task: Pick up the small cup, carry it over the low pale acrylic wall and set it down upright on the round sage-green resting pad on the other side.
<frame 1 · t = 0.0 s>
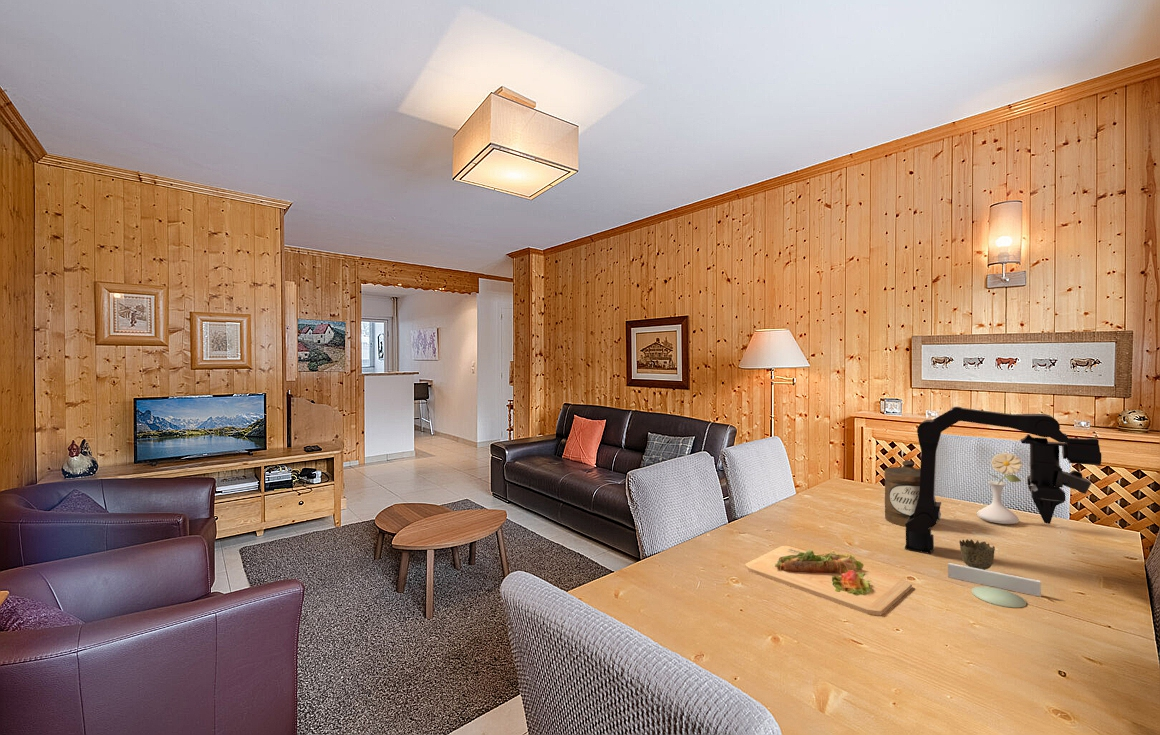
hand: (1045, 518, 130), 15 cm above the table, tool pointing down, fingers open, 9 cm apart
resting pad: (998, 597, 117), on the table
wooden container: (909, 522, 173), on the table
acrylic wall: (992, 585, 123), on the table
cup: (977, 573, 131), on the table
flower in vase: (1000, 522, 170), on the table
cutting board: (823, 580, 130), on the table
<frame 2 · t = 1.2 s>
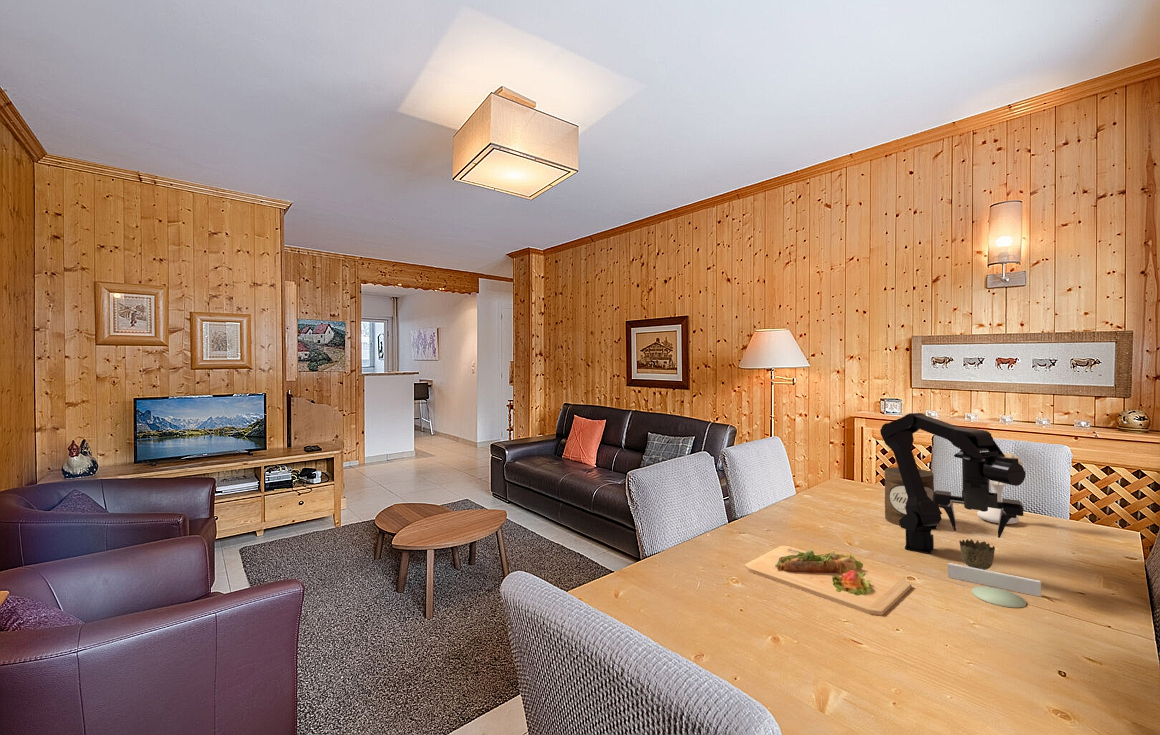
hand: (976, 533, 131), 11 cm above the table, tool pointing down, fingers open, 9 cm apart
nothing on the table moved.
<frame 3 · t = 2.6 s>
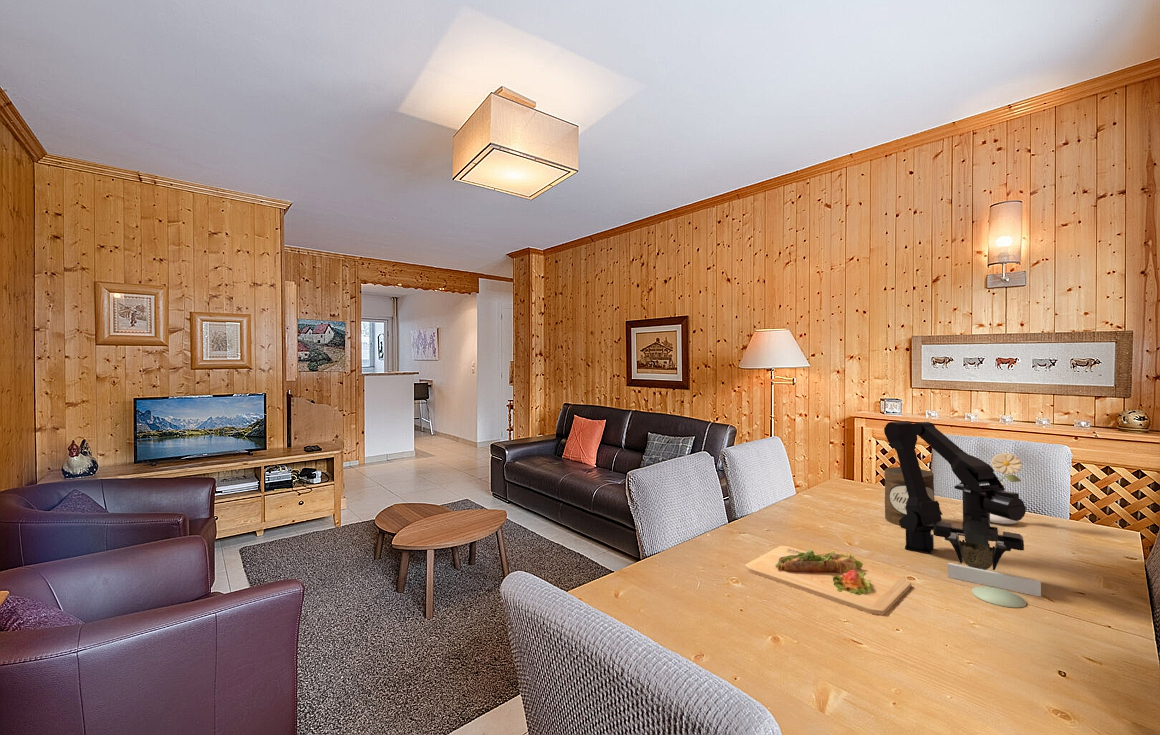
hand: (977, 566, 131), 2 cm above the table, tool pointing down, fingers closed on cup, 6 cm apart
cup: (977, 573, 131), on the table, touching gripper
everything else where it was.
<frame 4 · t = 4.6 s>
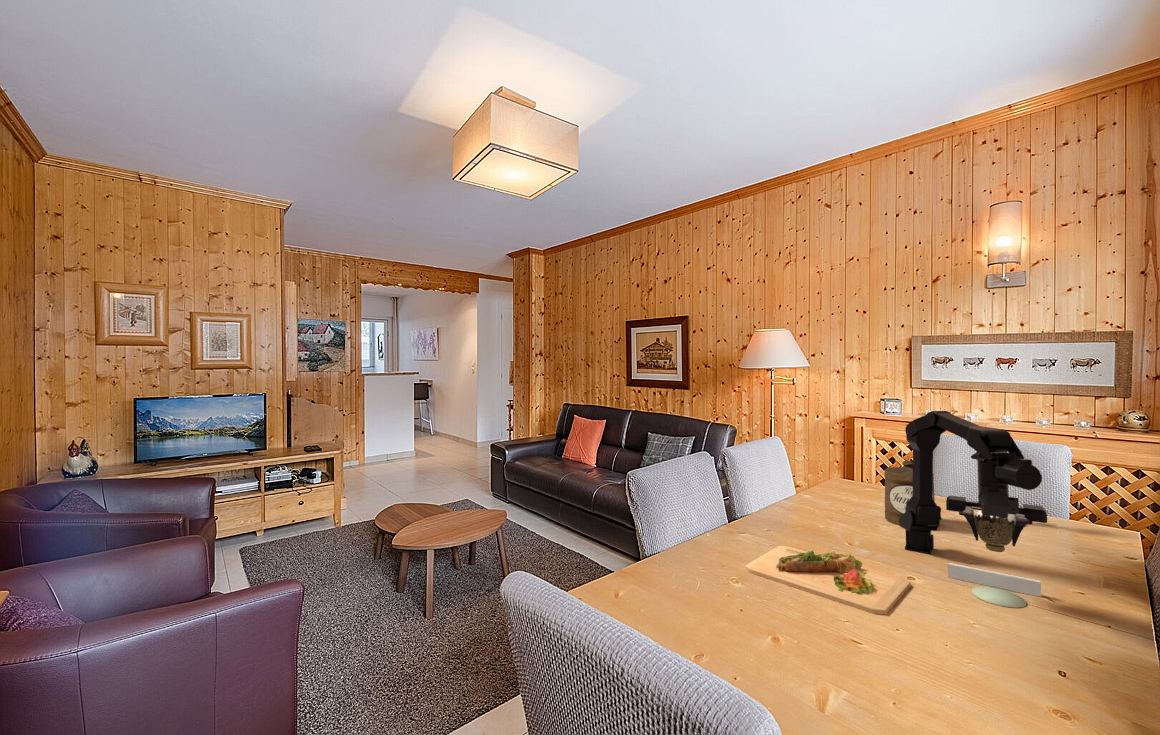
hand: (994, 543, 119), 13 cm above the table, tool pointing down, fingers closed on cup, 6 cm apart
cup: (995, 551, 119), point 11 cm above the table, touching gripper
everything else where it was.
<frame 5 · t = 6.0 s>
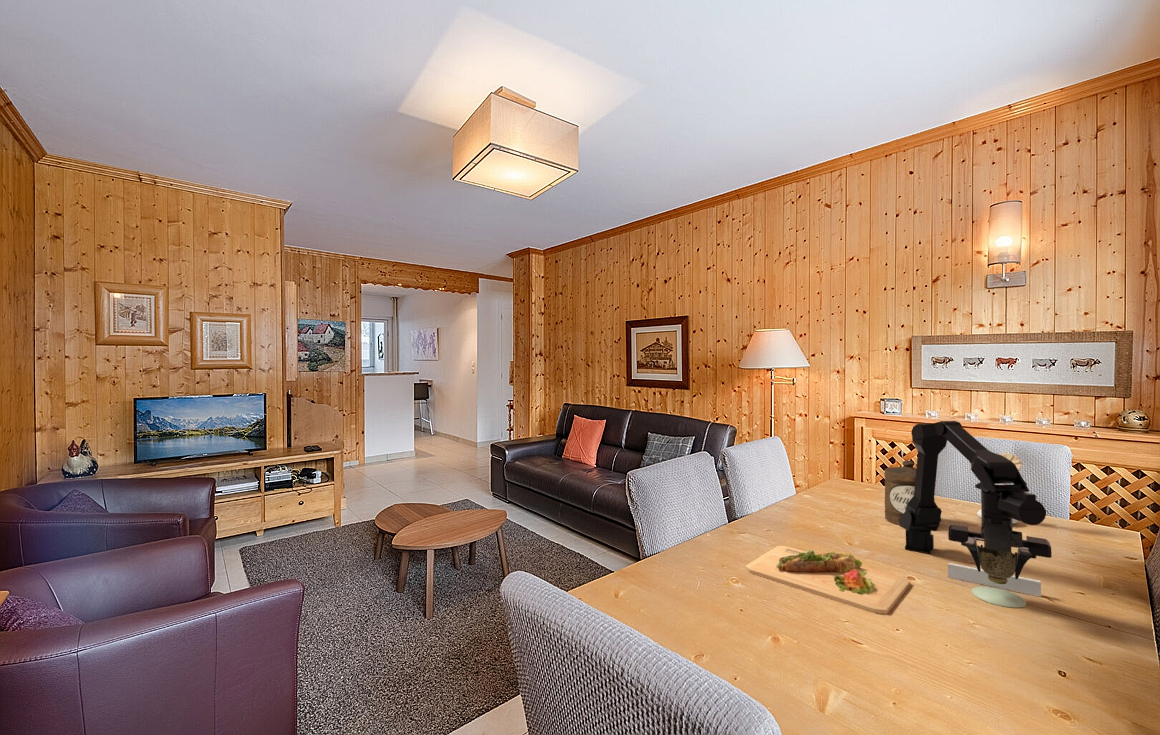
hand: (997, 574, 117), 5 cm above the table, tool pointing down, fingers closed on cup, 6 cm apart
cup: (997, 582, 117), point 3 cm above the table, touching gripper
everything else where it was.
when the fingers open (3 cm above the table, at t = 7.0 s): cup stays where it is, resting on resting pad.
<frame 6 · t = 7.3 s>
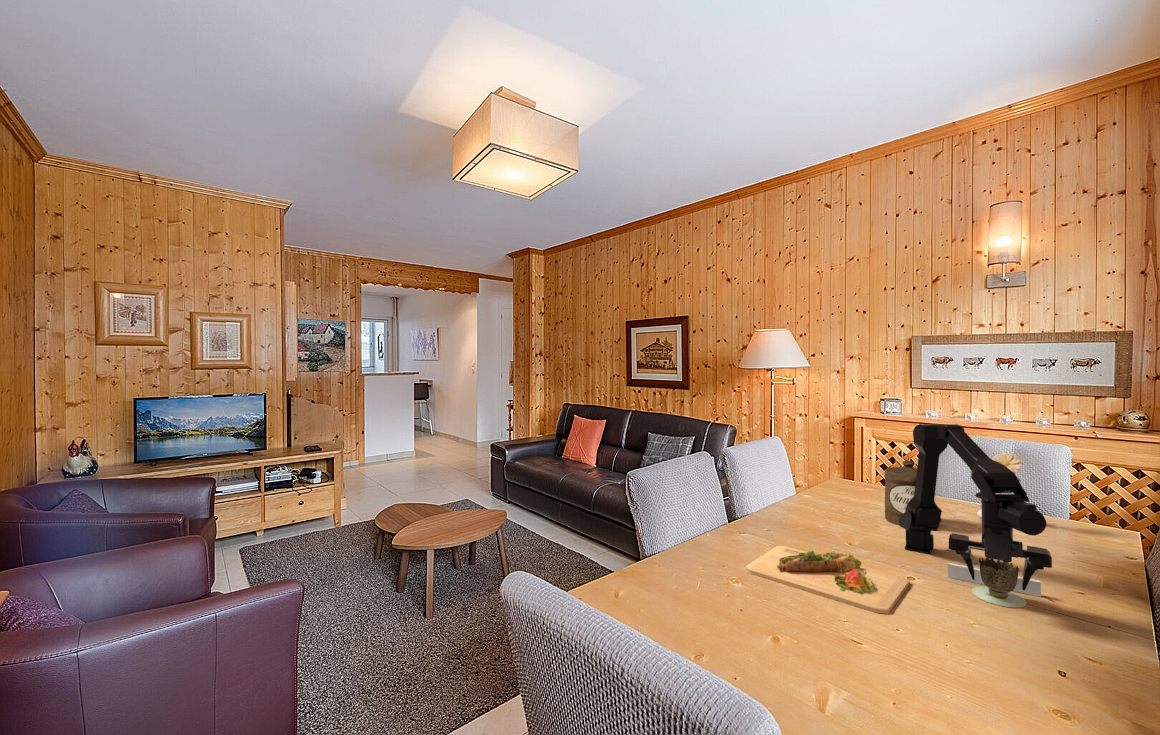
hand: (997, 584, 117), 3 cm above the table, tool pointing down, fingers open, 9 cm apart
cup: (998, 596, 117), resting on resting pad
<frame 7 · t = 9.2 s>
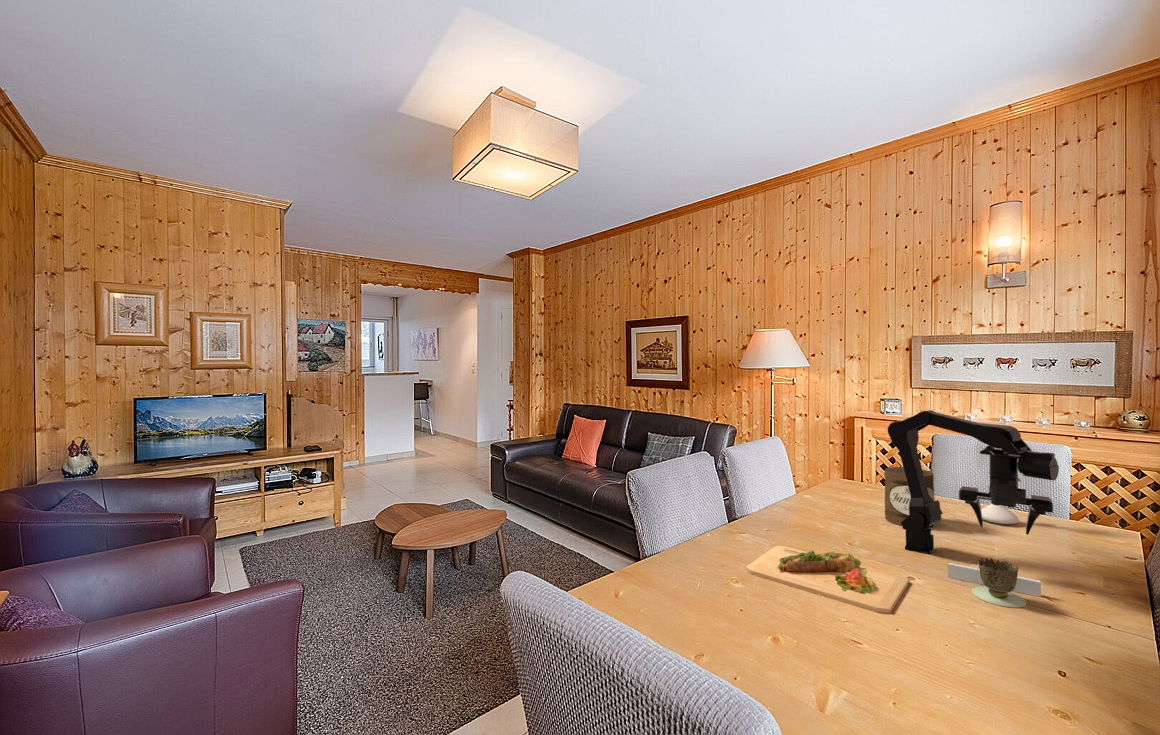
hand: (1003, 530, 130), 12 cm above the table, tool pointing down, fingers open, 9 cm apart
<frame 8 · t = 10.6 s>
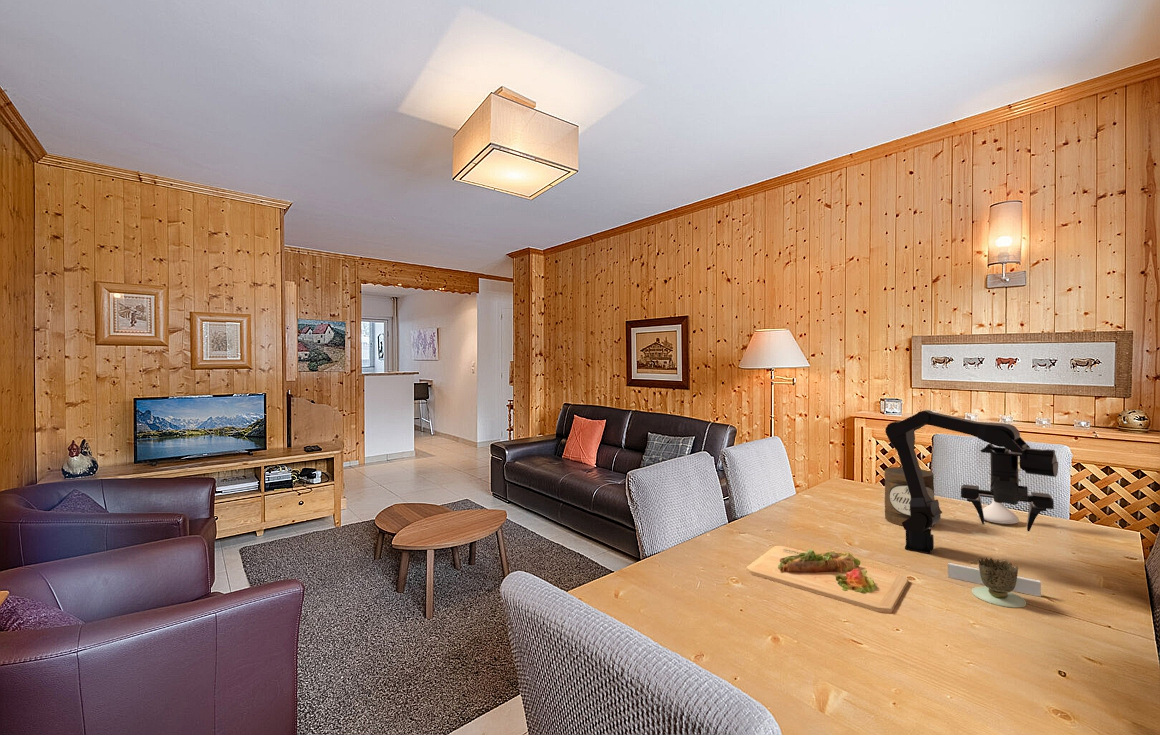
hand: (1005, 527, 131), 12 cm above the table, tool pointing down, fingers open, 9 cm apart
at the end: cup 0.1 cm from the resting pad (horizontally); cup tilted 0°; the gripper is holding nothing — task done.
